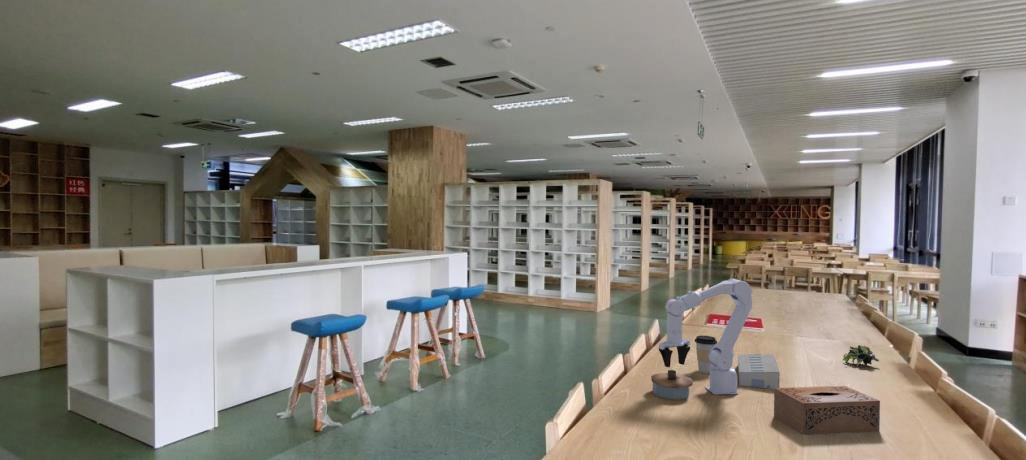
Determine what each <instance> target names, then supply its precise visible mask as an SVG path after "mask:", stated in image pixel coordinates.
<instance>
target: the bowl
mask: <svg viewBox="0 0 1026 460" xmlns="http://www.w3.org/2000/svg"><path fill="white" fill-rule="evenodd" d="M652 393H653V395H655V396H657V397H658V396H659V398H662V399H665V400H675V401H676V400H679V401H680V400H685V399H688V398H689V396H690V387H686V388H670V387H664V386H660V385H657V384H655V383H653V382H652Z"/></svg>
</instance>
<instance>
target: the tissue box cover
mask: <svg viewBox="0 0 1026 460" xmlns="http://www.w3.org/2000/svg"><path fill="white" fill-rule="evenodd" d="M773 391H774V392H773V393H774V394H773V396H774V397H773V417H774V418H775V419H777V420H778V421H780V422H782V423H783V424H785V425H787V426H788V427H790V428H792V429H793V430H795V431H797V432H798V433H799V434H801V435H804V436H805V435H825V434H826V435H827V434H829V435H831V434H847V433H848V434H850V433H851V434H852V433H875V432H880V427H881V426H880V423H881V421H880V420H881V419H880V417H881V410H880V409H881V400H880V399H877V398H874V397H873V396H870V395H867V394H865V393H863V392H860V391H859V390H856V389H853V388H851V387H849V386H846V385H831V386H830V385H827V386H826V385H825V386H798V387H797V386H796V387H795V386H793V387H779V388H774V389H773Z"/></svg>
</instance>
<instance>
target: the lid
mask: <svg viewBox="0 0 1026 460" xmlns="http://www.w3.org/2000/svg"><path fill="white" fill-rule="evenodd" d="M650 379H651V382H652V384H653V383H655V384H657V385H660V386H664V387H670V388H686V387H689V388H690V387H692V386H693V382H694V381H693V379H692V378H691V377H689V376H686V375H684V374H679V373H677V371H676V370H675V369H674V370H673V369H669V370H667V372H661V373H660V372H659V373H655V374H652V375H651V377H650Z"/></svg>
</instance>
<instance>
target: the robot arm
mask: <svg viewBox="0 0 1026 460" xmlns="http://www.w3.org/2000/svg"><path fill="white" fill-rule="evenodd" d="M752 293H753V289H752V287H751V285H750V284H749V283H748V282H747V281H744V280H739V279H737V278H729V279H727V280H722V281H721V282H719V283H717V284H715V285H712V286H711V287H709V288H706V289H704V290H702V291H700V292H697V291H694V290H693V291H691V290H689V291H687V293H686V294H683V295H681V296H679V295H678V296H676V299H675V298H672V299H669V300H667V302H666V303H665V305H664V309H665V311H666V314H667V315H666V316H667V317H666V340H665V341H662V342H660V343H658V351H659V353H660V355H661V358H662V360H663V364H664V367H666V368H670V367H671V359H672V354H673V352H674V351H673V350H672V349H670V348H676V349H677V350H676V351H677V359H678V364H680V365H681V366H683V365H685V362H686V359H687V355H688V354H689V352H690V350H691V346H690V345H691V340H690V339H683V314H684V313H685V312H686V311H690V310H692V309H694V308H696V307H699V306H701V305H702V303H703V301H705V300H707V299H708V300H709V299H711V298H715V297H717V296H720V295H729V296H730V297H731V298H732V300H733V302H734V304H735V306H734V308H733V311H732V313H731V314H730V317H729V318H728V319H729V320H728V322H727V324H726V326H725V329H724V330H723V333H722V335H721V337H720V339H719V341H717V343H716V344H715V346H714V348H713V349H712V350H710V351H709V353H708V360H709V361H710V362H711V364H710V373H709V386H705V389H706V390H708V391H709V392H710V393H712V394H713V395H738V394H739V392H738V375H737V372H736V370H735V369H734V368H732V366H733V359H734V356H735V351H734V347H735V344H736V342H737V340H738V339H739V336H740V334H741V332H742V330H743V327H744V325H745V323H746V321H747V318H748V317H749V314H750V312H751V310H752V308H753V299H752V297H753V296H752Z"/></svg>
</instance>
